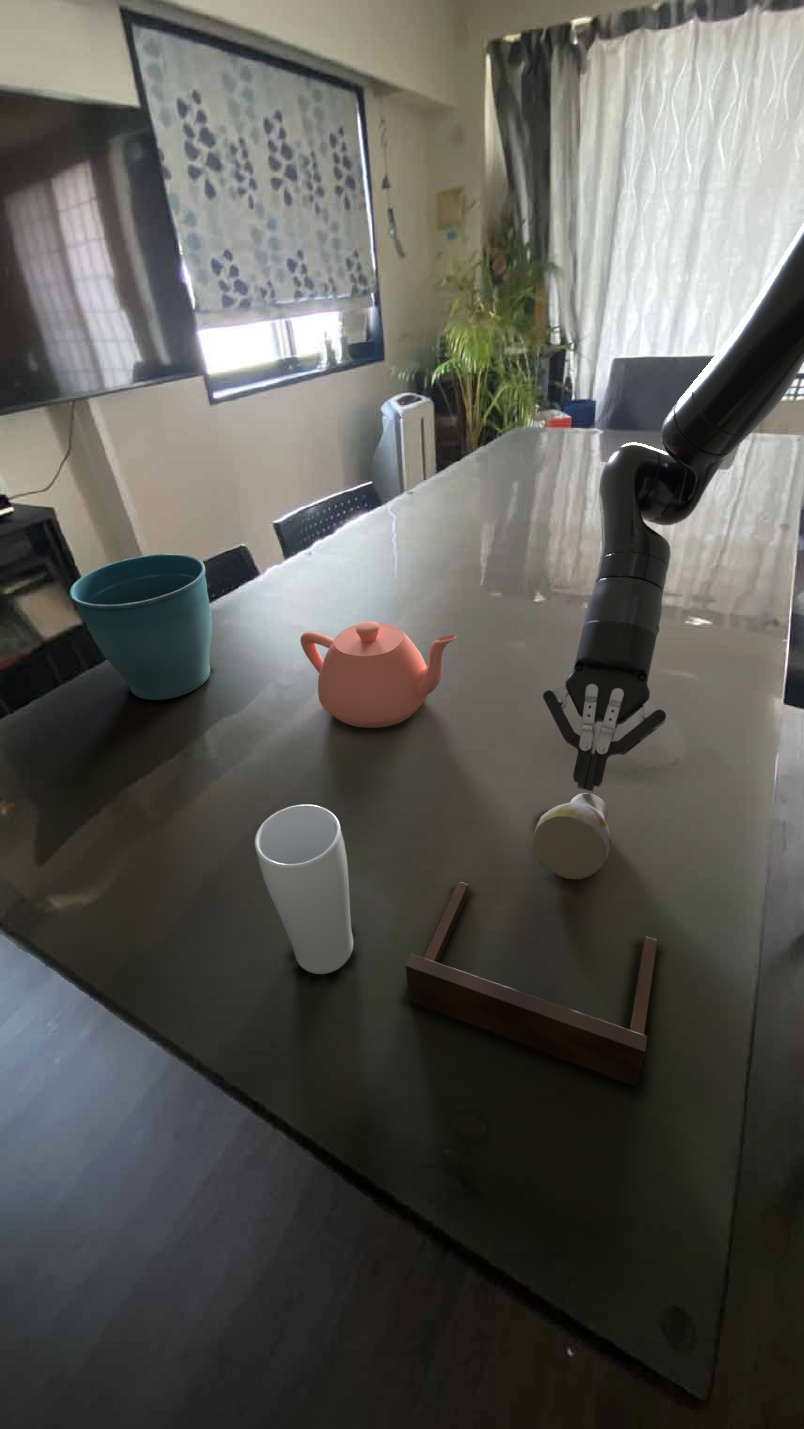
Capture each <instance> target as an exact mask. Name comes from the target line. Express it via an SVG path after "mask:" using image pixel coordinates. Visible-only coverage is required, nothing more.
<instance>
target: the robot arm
mask: <svg viewBox="0 0 804 1429" xmlns="http://www.w3.org/2000/svg"><path fill="white" fill-rule="evenodd" d="M789 245H790V246H789V247H788V248H787V250H786V251H785V253H784V255H783V256H782V257H781V260H780V261H779V262H778V264H777V266H776V267H775V269H774V271H773V272H772V274H771V275H770V277H769V278H768V280H767V282H766V283H765V285H764V286H763V288H762V289H761V291H760V292H759V294H758V296H757V297H756V299H755V300H754V302H753V303H752V305H751V306H750V308H749V309H748V311H747V312H746V314H745V315H744V317H743V318H742V319H741V321H740V323H739V324H738V326H737V327H736V328H735V330H734V331H733V333H732V334H731V335H730V337H729V338H728V339H727V341H726V342H725V343H724V344H723V346H722V347H721V349H720V350H719V351H718V352H717V354H716V355H715V356H714V357H713V358H712V359H711V361H710V362H709V363H708V365H706V367H705V368H704V369H703V370H702V372H701V373H700V374H699V375H698V377H697V378H696V379H695V380H694V381H693V383H692V384H691V385H690V386H689V388H687V390H686V391H685V393H683V395H682V396H681V397H680V398H679V400H677V402H676V403H675V405H674V406H673V407H672V408H671V410H670V411H669V412H668V413H667V415H666V416H665V419H664V420H663V422H662V424H661V426H660V427H661V428H660V441H661V444H662V446H663V448H664V450H665V451H663V450H660V449H657V448H654V447H652V446H648V445H646V444H642V443H637V442H631V443H630V442H629V443H626V444H623V445H621V446H620V447H618V448H617V449H615V451H613V453H612V454H611V455H610V456H609V457H608V459H607V461H606V463H605V464H604V467H603V469H602V473H601V476H600V481H599V488H598V495H599V496H598V500H599V501H598V502H599V513H600V523H601V525H600V526H601V554H600V559H599V563H598V568H597V572H596V577H595V582H594V586H593V589H592V592H591V594H590V596H589V600H588V603H587V607H586V612H585V616H584V621H583V625H582V630H581V635H580V639H579V644H578V647H577V653H576V657H575V662H574V666H573V669H572V671H571V673H570V674H569V676H568V677H567V678H566V680H565V684H564V685H562V686H560V687H558V688H556V689H554V690H553V691H552V690H548V689H547V690H546V691H544V692H543V694H542V698H543V700H544V702H545V704H546V706H547V708H548V711H549V712H550V714H551V716H552V718H553V720H554V722H555V724H556V726H557V728H558V729H559V732H560V733H561V736H562V738H563V739H564V741H565V743H567V744H569V745H570V746H572V747H573V748H575V749H577V755H576V759H575V760H576V761H575V765H574V769H573V770H574V771H573V774H572V776H573V777H572V778H573V781H574V782H575V783H577V789H580V790H584V791H588V792H594V789H595V787H596V788H597V787H598V788H600V786H601V785H602V784H603V780H604V776H605V770H606V765H607V760H608V759H609V757H611V756H615V755H616V756H617V755H622V756H623V755H626V754H628V753H629V752H630V751H631V750H632V749H634V748H635V747H636V746H637V745H639V744H640V743H641V742H642V741H644V740H645V739H647V737H648V736H650V735H651V734H653V733H654V732H655V731H656V730H657V729H659V728H660V727H661V726H662V725H664V724H665V722H666V718H667V714H666V712H665V710H662V709H659V707H657V705H656V704H654V703H653V701H651V699H650V695H651V692H650V689H649V685H648V682H649V681H648V680H649V675H650V670H651V666H652V661H653V656H654V653H655V652H654V651H655V647H656V643H657V642H656V641H657V637H658V635H659V632H660V622H661V618H662V609H663V605H662V604H663V596H664V591H665V585H666V582H667V575H668V571H669V567H670V561H671V555H672V548H671V544H670V543H669V541H668V540H667V539H666V538H665V537H664V536H663V535H661V534H660V533H658V532H657V531H655V530H654V529H652V528H651V527H650V526H649V525H648V524H646V522H648V523H652V524H655V525H657V526H658V525H659V526H663V527H666V526H667V527H668V526H674V525H676V524H679V523H680V522H681V523H682V522H683V521H684V520H686V519H687V518H689V517H690V516H691V515H692V514H693V513H694V512H695V510H696V509H697V507H698V505H699V503H700V501H701V499H702V497H703V496H704V494H705V491H706V490H707V488H708V487H709V484H710V483H711V481H712V480H713V478H714V477H715V475H716V474H717V472H718V470H719V469H720V467H721V466H722V465H723V463H724V461H725V460H726V458H727V457H729V455H730V454H731V453H732V452H733V451H734V450H735V449H736V448H737V447H738V446H740V444H742V442H743V441H744V440H745V439H746V438H747V437H749V435H751V434H752V433H753V432H754V431H755V429H757V427H759V426H760V424H762V422H764V420H765V419H766V418H767V417H768V416H769V415H770V414H771V413H772V412H773V411H774V409H775V408H776V407H777V406H778V405H779V404H780V402H781V401H782V400H783V398H784V397H785V395H786V394H787V392H788V391H789V389H790V387H791V386H792V384H793V382H794V381H795V379H796V377H797V376H798V374H799V372H800V370H801V368H802V366H803V364H804V223H803V224H802V226H801V227H800V229H799V231H798V232H797V234H796V236H795V237H794V239H793V241H792V242H791V244H789ZM645 521H646V522H645ZM568 697H569V698H570V699H571V701H572V703H573V706H574V707H575V709H576V712H577V714H578V715H579V717H581V725H580V727H581V730H580V735H579V733H576V732H575V731H574V728H573V726H572V725H571V723H570V721H569V719H568V717H567V715H566V713H565V711H564V709H566V708H567V706H568V700H567V698H568ZM640 709H642V711H641V713H640V714H639V722H640V723H638V724H637V725H636V726H635V727H633V728H632V729H630V730H629V732H627V733H626V734H625V735H623V736H622V737H621V738H620V739H619V740H614V738H615V735H616V732H617V729H618V726H620V725H623V724H624V723H626V722H627V721H628V720H629V719H630V718H632V717H633V716H634V715H635V714H636V713H637V712H639V710H640ZM599 722H601V723H602V724H601V728H600V732H599V736H598V739H597V743H596V745H595V744H594V743H595V735H596V731H597V723H599ZM594 745H595V750H594ZM593 750H594V753H592V752H593Z"/></svg>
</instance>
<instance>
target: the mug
mask: <svg viewBox="0 0 804 1429" xmlns="http://www.w3.org/2000/svg"><path fill="white" fill-rule="evenodd" d="M608 816H609V809H608V806H607V804H606V802H605V801H604V800H603V799H602V798H600V797H599V796H598V795H595V794H593V793H588V792H582V793H578V794H577V795H575V796H573V798H571V800H570V802H567V803H562V804H558V805H556V806H554V807H553V808H551V809H549V810H548V811H547V812H545V813H544V814H542V815H541V816H540V818H539V821H538V822H537V824H536V827H535V829H534V832H533V849H534V852H535V854H536V856H537V858H538V860H539V862H540V863H541V865H543V866H544V867H545V868H546V869H548V870H549V871H551V872H552V873H553V874H554V875H556V876H558V877H561V878H564V879H566V880H582V879H586V878H589V877H591V876H593V875H594V874H596V873H598V872H599V871H600V870H602V868H603V867H604V866H605V864H606V862H607V861H608V859H609V857H610V854H611V849H612V836H611V831H610V828H609V826H608V824H607V819H608Z"/></svg>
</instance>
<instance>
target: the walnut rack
mask: <svg viewBox="0 0 804 1429" xmlns="http://www.w3.org/2000/svg"><path fill="white" fill-rule="evenodd" d="M468 896H469V884H468V883H465V882H462V881H457V884H456V886H455V888H454V890H453V893H452V895H451V897H450V899H449V901H448V903H447V905H446V908H445V910H444V912H443V914H442V917H441V918H440V921H439V923H438V925H437V926H436V927H437V928H436V929H435V932H434V933H433V936H432V938H431V941H430V942H429V945H428V947H427V949H426V951H425V953H424V955H423V957H422V956H420V955H417V954H414V953H410V955H409V957H408V959H407V961H406V963H405V965H404V966H405V975H406V983H407V992H408V1000H409V1001H410V1002H412V1003H415V1004H417V1005H420V1006H422V1007H425V1008H427V1009H430V1010H433V1011H436V1012H438V1013H441V1014H444V1015H446V1016H448V1017H451V1018H455V1019H457V1020H460V1021H462V1022H464V1023H467V1024H469V1025H473V1026H475V1027H477V1028H480V1029H483V1030H485V1031H488V1032H491V1033H493V1034H496V1035H498V1036H502V1037H504V1038H506V1039H509V1040H511V1041H514V1042H517V1043H519V1044H522V1045H525V1046H527V1047H530V1048H533V1049H536V1050H538V1051H540V1052H543V1053H545V1054H549V1055H551V1056H554V1057H557V1058H559V1059H562V1060H564V1061H566V1062H567V1061H568V1062H570V1063H572V1064H575V1065H578V1066H580V1067H583V1068H586V1069H588V1070H591V1071H593V1072H596V1073H598V1074H601V1075H603V1076H607V1077H608V1078H611V1079H614V1080H617V1081H620V1082H622V1083H625V1084H627V1085H630V1086H632V1087H636V1086H637V1082H638V1079H639V1075H640V1072H641V1068H642V1065H643V1061H644V1058H645V1054H646V1051H647V1044H648V1042H647V1041H648V1036H647V1035H645V1030H646V1024H647V1016H648V1010H649V1003H650V996H651V989H652V982H653V975H654V969H655V961H656V954H657V946H658V939H656V938H651V937H648V936H645V937H644V939H643V944H642V950H641V956H640V961H639V968H638V974H637V981H636V987H635V993H634V999H633V1005H632V1010H631V1017H630V1022H629V1023H630V1024H629V1028H625V1027H623V1026H619V1025H617V1024H615V1023H611V1022H608V1021H606V1020H602V1019H600V1018H596V1017H594V1016H591V1015H588V1014H585V1013H584V1012H579V1011H576V1010H574V1009H571V1008H568V1007H565V1006H562V1005H559V1004H556V1003H554V1002H551V1001H548V1000H546V999H542V998H539V997H537V996H535V995H531V994H529V993H525V992H522V991H521V990H517V989H514V988H511V987H509V986H506V985H502V984H500V983H496V982H494V981H491V980H488V979H485V978H483V977H479V976H478V975H474V974H472V973H469V972H466V971H462V970H460V969H456V968H454V967H451V966H448V965H444V964H443V963H440V960H441V957H442V956H443V953H444V950H445V949H446V947H447V944H448V942H449V939H450V938H451V935H452V933H453V930H454V928H455V926H456V924H457V921H458V919H459V917H460V914H461V912H462V910H463V907H464V905H465V903H466V900H467V898H468Z"/></svg>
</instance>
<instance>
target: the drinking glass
mask: <svg viewBox="0 0 804 1429" xmlns="http://www.w3.org/2000/svg"><path fill="white" fill-rule="evenodd" d="M254 848H255V852H256V857H257V861H258V862H257V863H258V866H259V870H260V872H261V873H260V874H261V876H262V879H263V882H264V885H265V887H266V888H265V889H267V892H268V895H269V897H270V900H271V902H272V904H273V906H274V909H275V911H276V912H277V915H278V917H279V919H280V922H281V924H282V926H283V929H284V931H285V933H286V936H287V938H288V940H289V943H290V945H291V948H292V952H293V954H294V958H295V961H296V962H297V964H298V965H299V966H300V967H301V968H302V969H303V970H305V971H306V972H308V973H311V974H315V975H326V974H331V973H333V972H335V971H337V970H339V969H340V968H342V967H343V966H344V965H345V964H346V963H347V962H348V961H349V959H350V958H351V956H352V953H353V950H354V942H355V941H354V936H353V930H352V918H351V916H352V914H351V899H350V881H349V880H350V879H349V877H350V876H349V865H348V856H347V850H346V845H345V839H344V835H343V832H342V828H341V823H340V821H339V819H338V818H337V816H336V815H335V814H334V813H333V812H332V811H330V810H329V809H327V808H326V807H322V806H319V805H315V804H296V805H291V806H288V807H285V808H283V809H282V808H281V809H280V810H278V811H275V813H273V814H271V815H270V816H269V817H268V818H266V819H265V820H264V821H263V822H262V823H261V825H260V826H259V828H258V830H257V831H256V834H255V838H254Z"/></svg>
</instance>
